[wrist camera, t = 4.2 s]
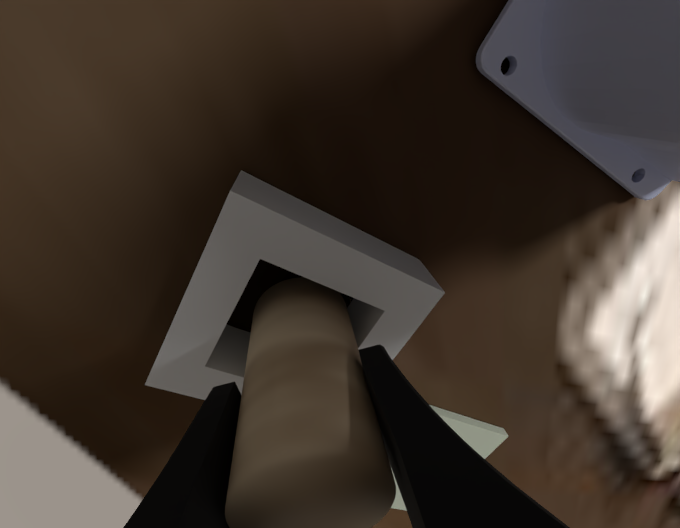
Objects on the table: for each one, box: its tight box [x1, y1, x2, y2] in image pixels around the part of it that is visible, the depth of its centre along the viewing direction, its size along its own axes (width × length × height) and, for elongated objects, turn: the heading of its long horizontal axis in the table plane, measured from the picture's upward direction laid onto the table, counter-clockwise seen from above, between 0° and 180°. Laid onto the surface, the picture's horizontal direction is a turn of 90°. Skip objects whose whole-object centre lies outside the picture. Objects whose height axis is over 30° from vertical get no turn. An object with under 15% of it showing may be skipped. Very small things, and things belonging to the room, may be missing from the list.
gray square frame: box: [145, 170, 445, 400], centre depth 13 cm, size 8×8×2 cm
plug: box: [225, 277, 396, 528], centre depth 10 cm, size 4×4×6 cm
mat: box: [390, 405, 508, 511], centre depth 20 cm, size 8×8×1 cm
